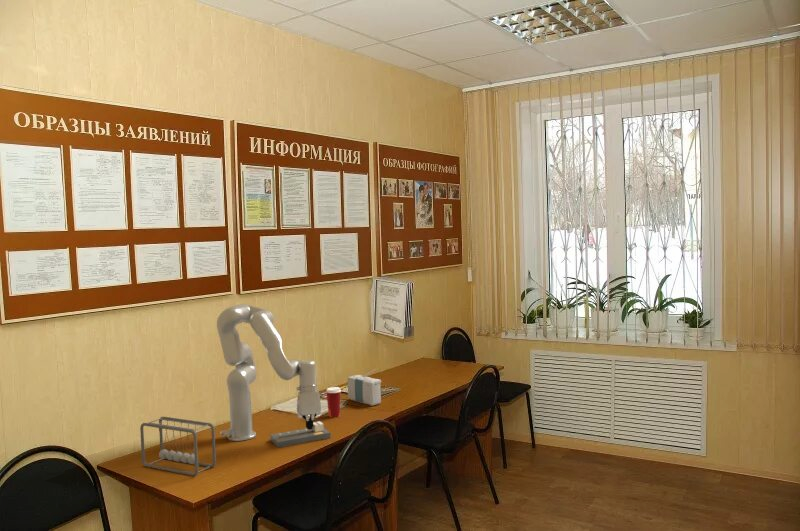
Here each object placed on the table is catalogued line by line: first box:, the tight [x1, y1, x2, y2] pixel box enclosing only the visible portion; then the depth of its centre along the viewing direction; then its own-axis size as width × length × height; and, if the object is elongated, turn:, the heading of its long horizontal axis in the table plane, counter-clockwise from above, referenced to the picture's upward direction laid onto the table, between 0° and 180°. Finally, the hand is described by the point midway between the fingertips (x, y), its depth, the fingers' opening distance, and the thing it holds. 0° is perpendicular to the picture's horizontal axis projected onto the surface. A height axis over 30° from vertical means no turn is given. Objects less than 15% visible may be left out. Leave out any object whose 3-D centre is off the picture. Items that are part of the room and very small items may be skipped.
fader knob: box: [312, 420, 325, 432], centre depth 277 cm, size 4×5×3 cm
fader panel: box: [269, 427, 331, 449], centre depth 273 cm, size 24×12×3 cm, turn 117°
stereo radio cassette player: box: [347, 366, 382, 407], centre depth 333 cm, size 21×8×20 cm, turn 42°
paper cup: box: [325, 386, 342, 418], centre depth 308 cm, size 8×8×14 cm
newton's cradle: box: [139, 416, 217, 477], centre depth 244 cm, size 30×10×18 cm, turn 63°
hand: (309, 428), depth 275 cm, fingers closed
